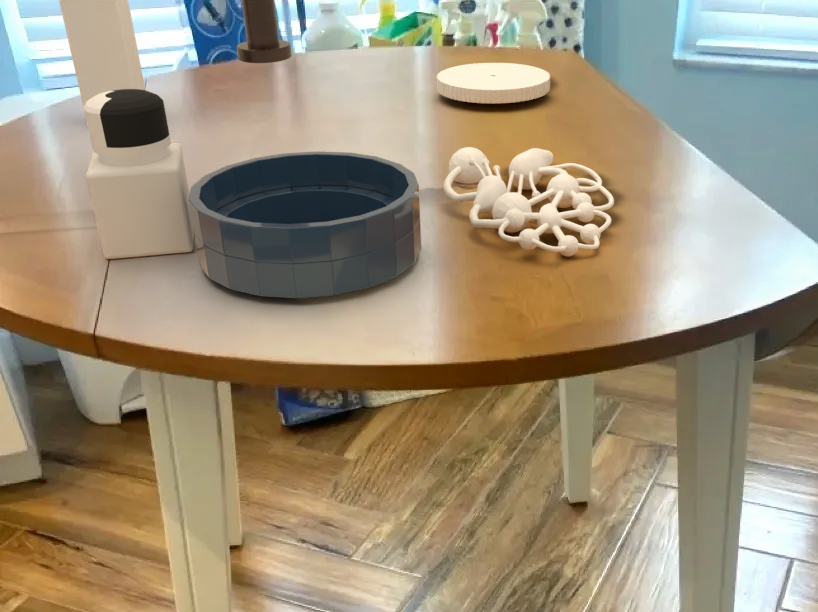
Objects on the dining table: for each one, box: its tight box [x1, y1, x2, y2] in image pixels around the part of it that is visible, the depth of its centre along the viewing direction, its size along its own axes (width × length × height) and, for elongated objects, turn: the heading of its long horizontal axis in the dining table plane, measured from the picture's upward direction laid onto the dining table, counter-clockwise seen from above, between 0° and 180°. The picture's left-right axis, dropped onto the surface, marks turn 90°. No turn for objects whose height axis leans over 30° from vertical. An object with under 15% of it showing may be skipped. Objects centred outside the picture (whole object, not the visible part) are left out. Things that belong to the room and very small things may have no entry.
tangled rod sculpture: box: [443, 146, 615, 258], centre depth 84 cm, size 19×14×4 cm
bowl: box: [189, 150, 422, 299], centre depth 76 cm, size 18×18×6 cm
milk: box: [58, 0, 146, 108], centre depth 107 cm, size 6×6×22 cm
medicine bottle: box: [83, 89, 195, 260], centre depth 78 cm, size 7×7×12 cm
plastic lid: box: [436, 62, 551, 105], centre depth 119 cm, size 14×14×2 cm
